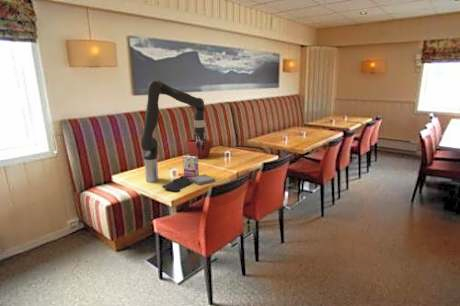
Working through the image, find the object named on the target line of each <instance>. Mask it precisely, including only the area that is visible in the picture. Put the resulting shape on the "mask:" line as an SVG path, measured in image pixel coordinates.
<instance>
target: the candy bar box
mask: <svg viewBox="0 0 460 306" xmlns="http://www.w3.org/2000/svg"><path fill="white" fill-rule="evenodd" d="M182 159H183V160H182V161H183V162H182V163H183V174H184V175H183V176H184V177H187V178H191V177H196V176H200V173H199V168H200V167H199V159H198V157H196V156H190V155H185V156H182Z"/></svg>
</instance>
